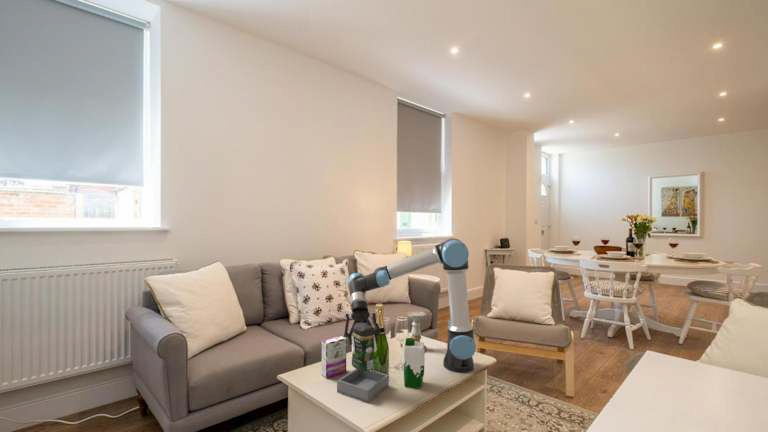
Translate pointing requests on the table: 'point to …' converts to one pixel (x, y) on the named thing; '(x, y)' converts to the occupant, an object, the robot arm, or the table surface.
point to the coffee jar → (363, 347)
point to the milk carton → (413, 363)
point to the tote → (363, 384)
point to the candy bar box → (334, 356)
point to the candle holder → (416, 325)
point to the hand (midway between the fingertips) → (364, 351)
